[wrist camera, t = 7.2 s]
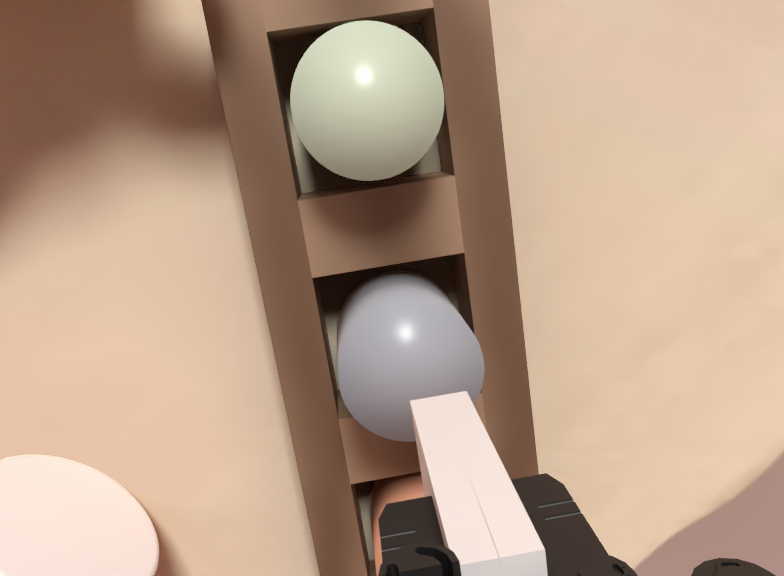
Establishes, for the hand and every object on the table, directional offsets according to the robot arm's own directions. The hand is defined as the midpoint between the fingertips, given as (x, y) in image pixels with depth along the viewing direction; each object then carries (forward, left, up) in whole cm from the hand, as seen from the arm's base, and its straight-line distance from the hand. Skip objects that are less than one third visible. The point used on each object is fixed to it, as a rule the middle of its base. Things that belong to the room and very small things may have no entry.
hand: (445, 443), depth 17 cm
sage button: (0, +9, -12) cm, 15 cm away
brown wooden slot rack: (0, 0, -12) cm, 12 cm away
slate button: (0, 0, -10) cm, 10 cm away
